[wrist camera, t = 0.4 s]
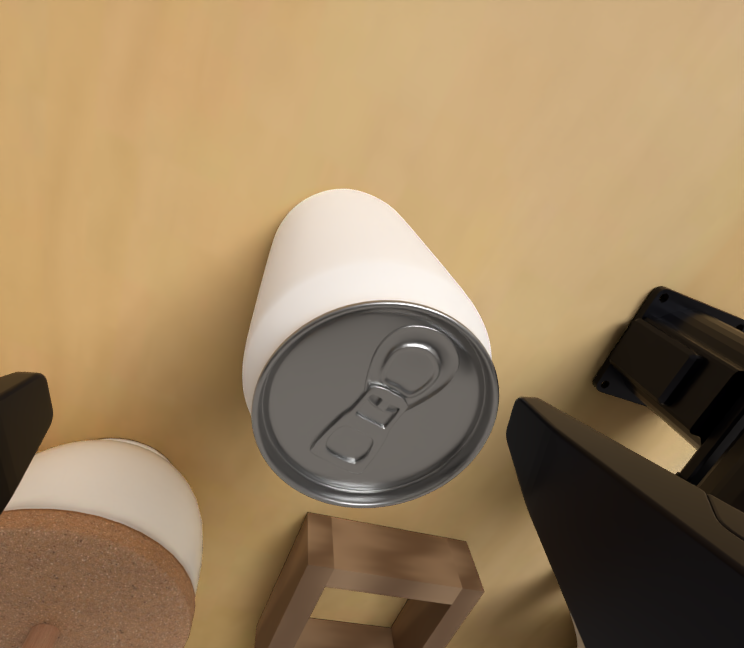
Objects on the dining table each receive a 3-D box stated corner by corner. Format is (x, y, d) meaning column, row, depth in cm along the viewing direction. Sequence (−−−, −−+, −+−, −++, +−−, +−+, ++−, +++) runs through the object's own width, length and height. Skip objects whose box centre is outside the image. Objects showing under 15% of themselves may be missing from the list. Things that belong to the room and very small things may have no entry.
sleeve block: (466, 541, 30) (484, 591, 27) (401, 642, 34) (410, 696, 31) (307, 512, 27) (307, 564, 24) (256, 626, 31) (250, 684, 28)
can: (439, 240, 21) (574, 377, 10) (359, 344, 23) (403, 552, 12) (322, 154, 19) (342, 215, 8) (244, 277, 21) (175, 459, 10)
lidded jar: (199, 562, 28) (152, 756, 20) (2, 535, 25) (-151, 748, 17) (244, 426, 24) (209, 596, 16) (17, 377, 21) (-171, 551, 13)
